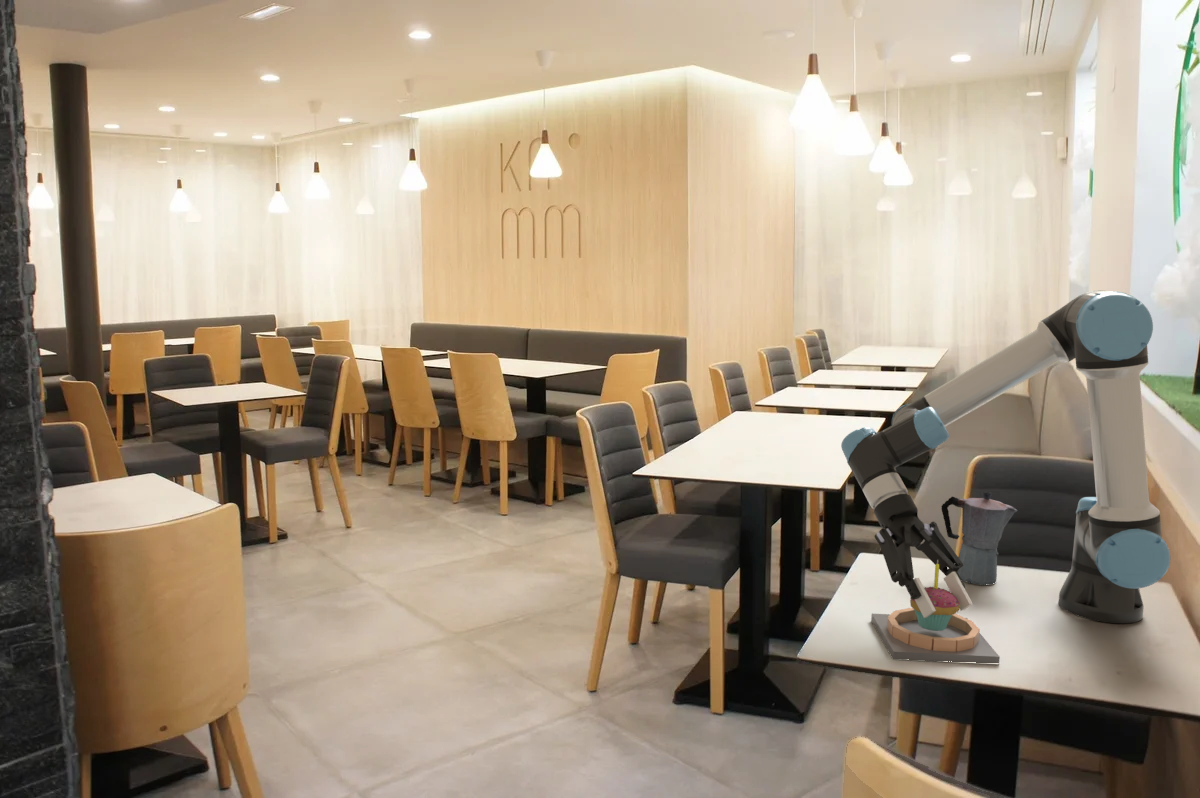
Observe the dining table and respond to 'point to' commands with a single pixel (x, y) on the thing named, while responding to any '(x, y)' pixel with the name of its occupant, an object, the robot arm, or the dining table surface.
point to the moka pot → (979, 535)
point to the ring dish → (928, 654)
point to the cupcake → (937, 606)
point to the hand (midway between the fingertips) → (948, 610)
